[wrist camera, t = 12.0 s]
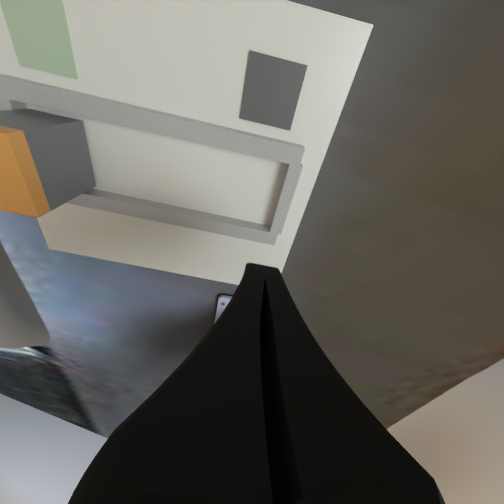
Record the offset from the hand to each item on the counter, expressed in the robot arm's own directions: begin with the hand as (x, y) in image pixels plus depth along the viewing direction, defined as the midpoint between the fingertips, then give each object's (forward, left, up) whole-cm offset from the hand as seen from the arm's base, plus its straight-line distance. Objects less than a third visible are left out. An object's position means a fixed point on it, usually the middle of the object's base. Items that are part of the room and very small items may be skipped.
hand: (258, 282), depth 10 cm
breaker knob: (+1, +13, -8) cm, 15 cm away
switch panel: (+1, +7, -9) cm, 12 cm away
